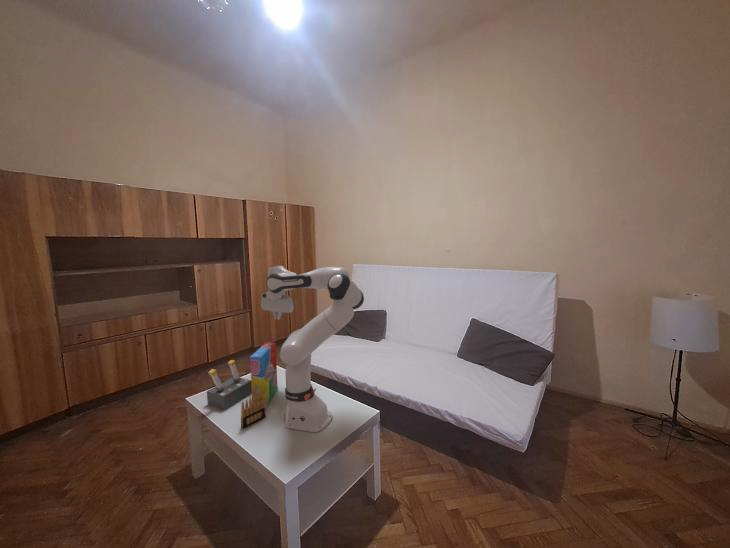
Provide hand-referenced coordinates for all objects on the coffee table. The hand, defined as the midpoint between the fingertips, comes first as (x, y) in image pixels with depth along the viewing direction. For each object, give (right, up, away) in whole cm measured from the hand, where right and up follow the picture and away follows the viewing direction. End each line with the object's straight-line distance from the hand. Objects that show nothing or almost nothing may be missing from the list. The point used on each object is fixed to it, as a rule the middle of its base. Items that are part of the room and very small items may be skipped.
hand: (277, 319), depth 159 cm
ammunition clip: (-1, -41, -32) cm, 52 cm away
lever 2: (-18, -31, -9) cm, 37 cm away
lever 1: (-23, -32, -18) cm, 43 cm away
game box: (-2, -39, -14) cm, 42 cm away
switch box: (-20, -39, -12) cm, 46 cm away
